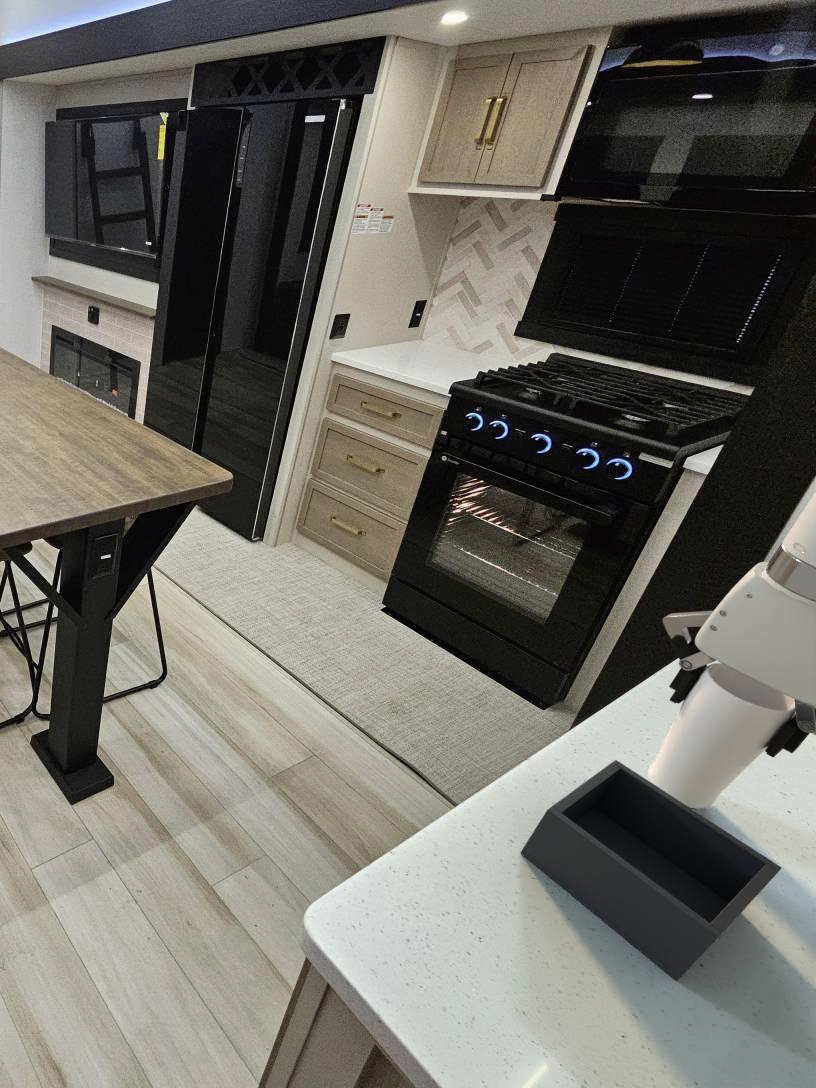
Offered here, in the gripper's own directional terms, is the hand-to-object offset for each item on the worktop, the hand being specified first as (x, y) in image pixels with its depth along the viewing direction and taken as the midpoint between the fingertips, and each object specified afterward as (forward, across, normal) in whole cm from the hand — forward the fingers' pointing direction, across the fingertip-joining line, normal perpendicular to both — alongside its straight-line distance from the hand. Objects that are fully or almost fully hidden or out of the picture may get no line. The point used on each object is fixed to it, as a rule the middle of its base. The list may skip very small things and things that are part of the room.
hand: (725, 721), depth 68 cm
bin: (+10, -3, +17) cm, 20 cm away
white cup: (+10, 0, 0) cm, 10 cm away
